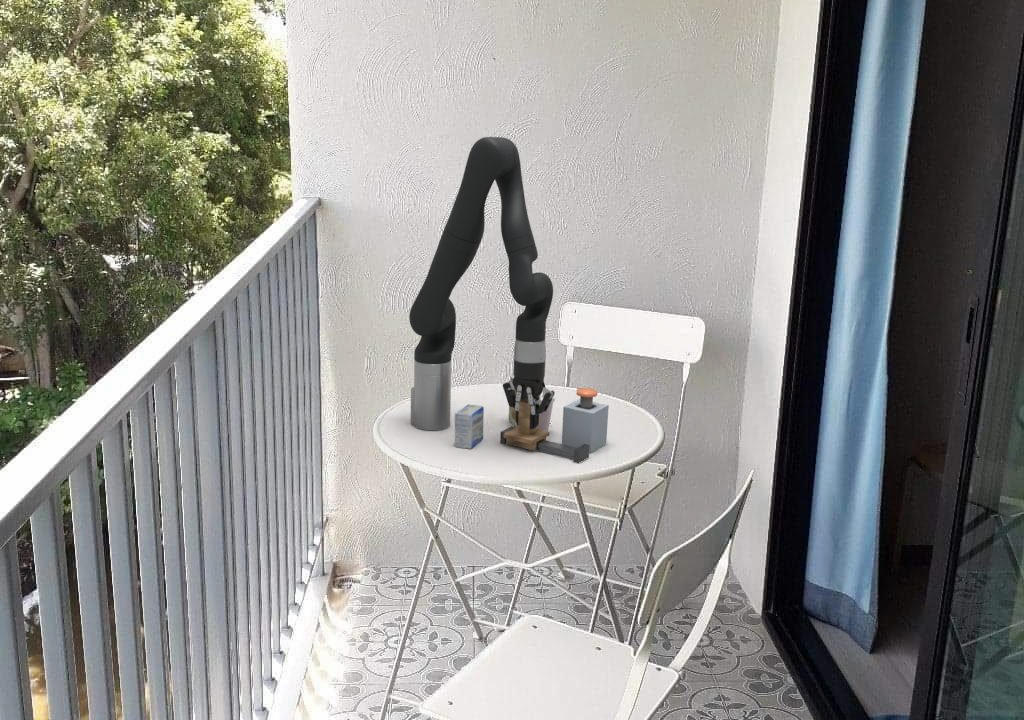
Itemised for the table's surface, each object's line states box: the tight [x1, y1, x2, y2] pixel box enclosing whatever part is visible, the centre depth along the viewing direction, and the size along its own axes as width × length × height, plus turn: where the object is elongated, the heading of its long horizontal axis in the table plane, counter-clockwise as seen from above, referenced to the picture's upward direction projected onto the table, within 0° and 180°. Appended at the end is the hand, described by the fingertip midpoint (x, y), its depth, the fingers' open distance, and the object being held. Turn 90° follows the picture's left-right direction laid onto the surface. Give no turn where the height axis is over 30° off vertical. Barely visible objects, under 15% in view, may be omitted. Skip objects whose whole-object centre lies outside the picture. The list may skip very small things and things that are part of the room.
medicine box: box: [454, 404, 485, 450], centre depth 242 cm, size 8×4×9 cm, turn 160°
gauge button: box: [576, 387, 598, 410], centre depth 242 cm, size 5×5×7 cm
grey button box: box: [561, 398, 610, 454], centre depth 243 cm, size 8×8×10 cm
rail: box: [499, 425, 590, 464], centre depth 240 cm, size 22×5×3 cm, turn 57°
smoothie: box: [534, 392, 556, 432], centre depth 250 cm, size 6×6×14 cm
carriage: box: [504, 399, 550, 452], centre depth 241 cm, size 8×8×11 cm
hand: (527, 426), depth 241 cm, fingers closed on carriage, 3 cm apart
